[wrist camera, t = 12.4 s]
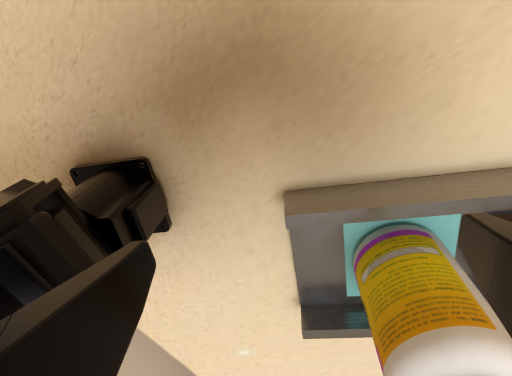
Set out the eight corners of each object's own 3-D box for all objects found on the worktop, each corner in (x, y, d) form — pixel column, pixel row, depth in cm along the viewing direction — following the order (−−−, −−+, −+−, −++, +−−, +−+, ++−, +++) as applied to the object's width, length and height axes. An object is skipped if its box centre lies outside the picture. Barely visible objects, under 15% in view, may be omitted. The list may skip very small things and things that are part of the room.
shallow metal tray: (301, 305, 28) (303, 338, 24) (285, 191, 22) (284, 216, 19) (574, 293, 24) (616, 331, 21) (629, 154, 19) (696, 178, 16)
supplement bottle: (333, 257, 23) (375, 464, 12) (403, 203, 21) (542, 405, 9) (389, 301, 25) (474, 523, 13) (461, 256, 22) (645, 487, 11)
